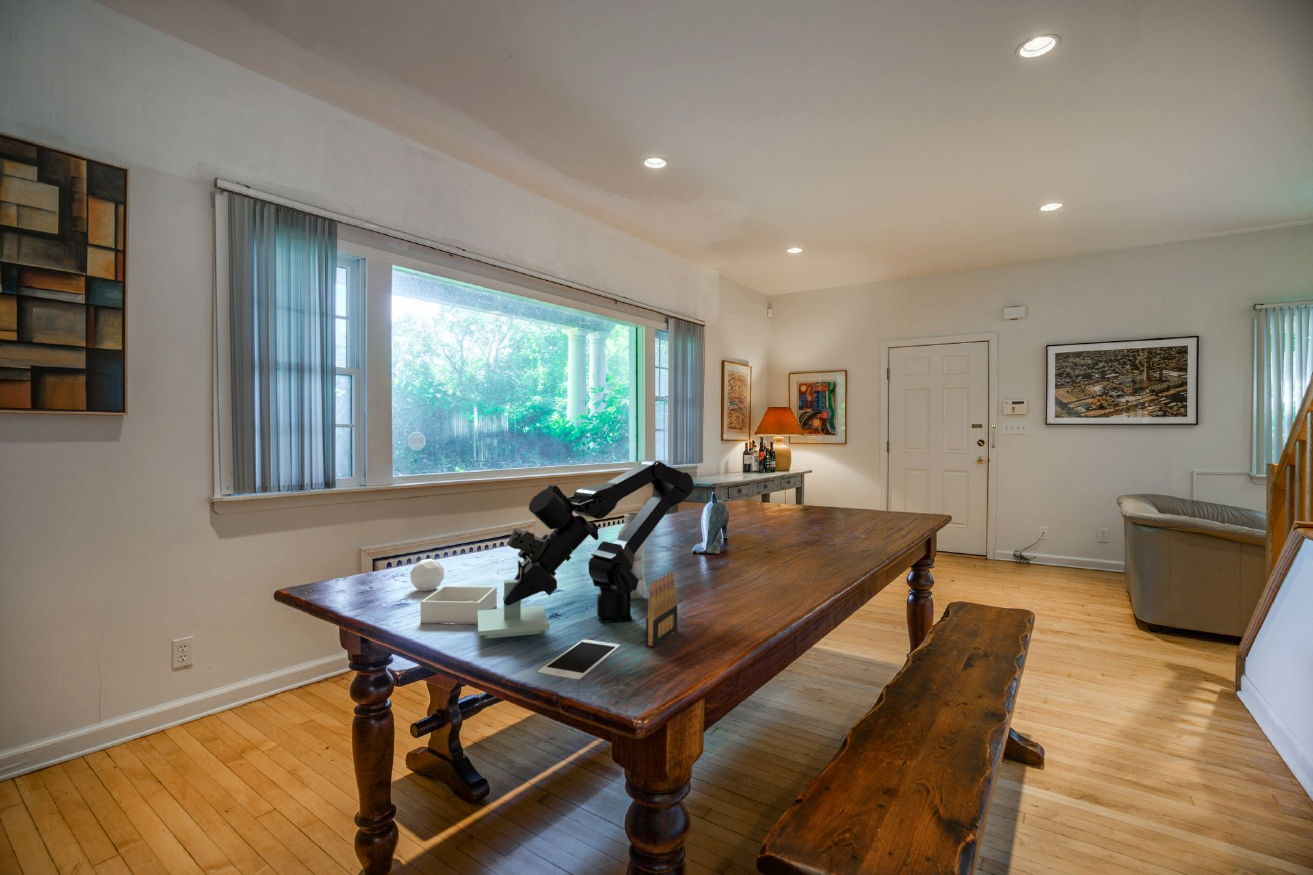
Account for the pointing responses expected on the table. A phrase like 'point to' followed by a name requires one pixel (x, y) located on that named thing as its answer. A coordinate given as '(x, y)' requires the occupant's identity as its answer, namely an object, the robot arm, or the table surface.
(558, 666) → the cell phone
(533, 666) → the table surface
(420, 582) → the geometric ball
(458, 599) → the tub
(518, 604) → the lid
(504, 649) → the table surface
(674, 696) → the table surface
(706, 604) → the table surface
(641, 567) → the plastic bottle
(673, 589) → the ammunition clip
